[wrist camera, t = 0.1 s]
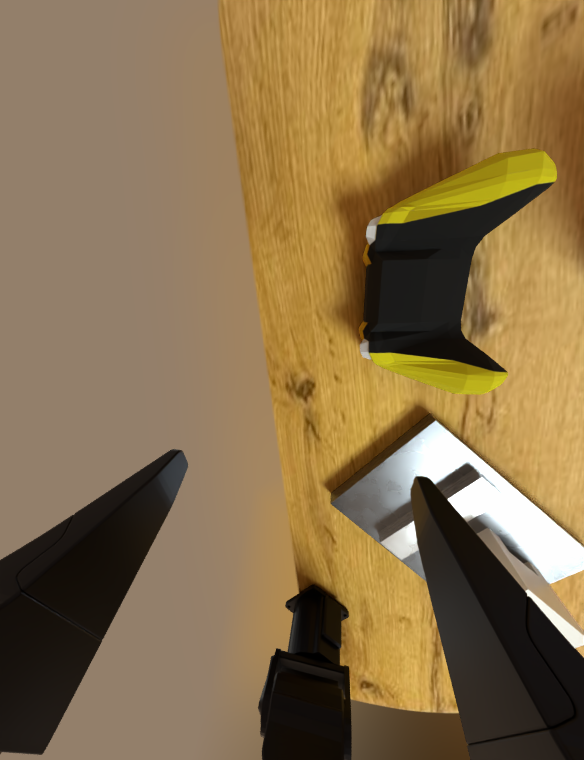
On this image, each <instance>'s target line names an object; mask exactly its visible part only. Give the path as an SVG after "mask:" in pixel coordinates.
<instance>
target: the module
mask: <svg viewBox="0 0 584 760" xmlns="http://www.w3.org/2000/svg"><path fill="white" fill-rule="evenodd" d="M477 535H478V536H479V537H480V538H481V539H482V541H483V542H484V543H485V544H486V545H487V546H488V548H489V549H490V550H491V551H492V552H493V554H494V555H495V556H496V557H497V558H498V559H499V561H500V562H501V563H502V564H503V565H504V567H505V568H506V569H507V570H508V571H509V572H510V574H511V575H512V576H513V577H514V578H515V580H516V581H517V582H518V583H519V584H520V586H521V587H522V588H523V589H524V590H525V591H526V593H527V596H529V597H531V598H532V600H533V601H534V602H535V603H536V604H537V605H538V607H539V608H540V609H541V610H542V611H543V613H544V614H545V615H546V616H547V617H548V618H549V619H550V621H551V622H552V623H553V624H554V625H555V626H556V627H557V629H558V630H559V631H560V632H561V633H562V634H563V635H564V637H565V638H566V639H567V640H568V641H569V642H570V643H571V644H572V646H573V647H574V648H577V647H580V646H583V645H584V631H583V630H582V628H581V627H580V626H579V624H578V623H577V621H576V620H575V619H574V617H573V616H572V615H571V613H570V612H569V611H568V609H567V608H566V607H565V605H564V604H563V602H562V601H561V600H560V598H559V597H558V596H557V594H556V593H555V592H554V590H553V589H552V588H551V586H550V585H549V583H548V582H547V581H546V579H545V578H544V577H543V575H542V574H541V573H540V571H539V570H538V569H537V568H535V567H534V566H533V565H532V564H531V563H529V562H526V563H524V564H523V563H522V562H521V561H520V560H518V559H517V558H516V557H515V556H514V555H512V554H511V553H510V552H509V551H508V549H507V548H506V546H505V545H504V544H503V542H502V541H501V539H500V538H499V536H497V535H496V534H495V533H494V532H493V531H491V530H490V529H489V528H486V529H484V530H483V531H481V532H479V533H477Z"/></svg>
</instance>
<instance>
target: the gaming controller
mask: <svg viewBox="0 0 584 760" xmlns="http://www.w3.org/2000/svg"><path fill="white" fill-rule="evenodd" d="M556 179H557V170H556V166H555V163H554V162H553V161H552V159H551V158H550V157H549V156H548V155H547V154H546V153H545V151H542V150H538V149H534V148H533V149H526V150H519V151H511V152H504V153H498V154H496V155H494V156H492V157H489V158H487V159H485V160H483V161H481V162H479V163H477V164H475V165H473V166H471V167H469V168H467V169H465V170H463V171H461V172H459V173H457V174H455V175H453V176H451V177H449V178H447V179H445V180H442V181H440V182H438V183H436V184H434V185H432V186H430V187H428V188H426V189H424V190H422V191H420V192H418V193H416V194H415V195H413V196H411V197H409V198H407V199H405V200H403V201H401V202H399V203H397V204H396V205H394V206H393V207H391V208H388V209H387V210H386V211H385V212H384V213H383V214H382V215H381V216H379V217H376V218H374V219H372V220H371V221H370V223H369V225H368V226H367V232H366V238H367V240H368V243H367V245H366V248H365V250H364V254H363V257H362V260H363V262H364V264H365V266H366V284H365V302H364V319H363V322H362V324H361V325H360V327H359V328H358V329H359V334H360V337H361V340H362V342H361V344H360V352H361V354H362V356H363V357H364V358H368V359H371V360H372V361H373V362H374V363H375V364H376V365H379V366H380V367H382V368H384V369H387V370H390V371H392V372H395V373H398V374H400V375H403V376H406V377H408V378H411V379H414V380H417V381H419V382H422V383H425V384H428V385H431V386H434V387H436V388H439V389H442V390H445V391H448V392H451V393H453V394H479V395H480V394H484V393H487V392H490V391H491V390H493V389H495V388H496V387H498V386H499V385H501V384H502V383H503V382H504V380H505V379H506V378H507V376H508V372H507V371H506V370H505V369H504V368H502V367H501V366H500V365H499V364H498V363H496V362H495V361H494V360H493V359H491V358H490V357H489V356H488V355H486V354H485V353H484V352H483V351H481V350H480V349H479V348H477V347H476V346H475V345H473V344H472V343H471V342H469V341H468V340H467V339H465V337H464V335H463V333H462V331H461V317H462V311H463V305H464V300H465V294H466V288H467V282H468V277H469V271H470V265H471V260H472V257H473V254H474V251H475V248H476V246H477V245H478V244H479V242H480V241H481V240H482V239H483V237H484V236H485V235H487V234H488V233H489V232H491V231H492V230H493V229H495V228H496V227H497V226H499V225H500V224H501V223H503V222H504V221H505V220H507V219H508V218H510V217H511V216H512V215H514V214H515V213H516V212H518V211H519V210H520V209H521V208H523V207H524V206H525V205H527V204H528V203H529V202H531V201H532V200H533V199H535V198H536V197H537V196H539V195H540V194H541V193H542V192H544V191H545V190H546V189H548V188H549V187H550V186H551V185H552V184H553V183H554V182H555V180H556Z"/></svg>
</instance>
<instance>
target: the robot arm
mask: <svg viewBox="0 0 584 760" xmlns="http://www.w3.org/2000/svg"><path fill="white" fill-rule="evenodd" d="M187 468H188V463H187V460H186V457H185V455H184V453H183V451H182V450H176V449H173V450H170V451H169V452H167V453H165V454H164V455H162V456H161V457H159V458H158V459H156V460H155V461H153V462H152V463H150V464H149V465H147V466H146V467H144V468H143V469H141V470H140V471H139V472H137V473H135V474H134V475H132V476H131V477H129V478H128V479H126V480H125V481H123V482H122V483H120V484H119V485H117V486H116V487H114V488H113V489H111V490H110V491H108V492H107V493H105V494H104V495H102V496H101V497H99V498H98V499H96V500H94V501H93V502H91V503H90V504H88V505H87V506H86V507H84V508H82V509H81V510H79V511H78V512H76V513H75V514H74V515H72V516H70V517H69V518H67V519H66V520H64V521H63V522H61V523H60V524H58V525H56V526H55V527H53V528H52V529H50V530H49V531H47V532H46V533H44V534H42V535H41V536H40V537H38V538H36V539H34V540H33V541H31V542H29V543H28V544H26V545H24V546H23V547H21V548H20V549H18V550H16V551H15V552H13V553H12V554H9V555H8V556H6V557H4V558H3V559H1V560H0V754H1V752H9V753H23V754H38V755H42V754H43V752H44V751H45V749H46V747H47V746H48V744H49V742H50V740H51V738H52V736H53V734H54V732H55V731H56V729H57V727H58V725H59V723H60V721H61V719H62V717H63V715H64V713H65V711H66V710H67V708H68V706H69V704H70V702H71V700H72V698H73V696H74V694H75V692H76V690H77V688H78V686H79V685H80V683H81V681H82V679H83V677H84V675H85V673H86V671H87V669H88V667H89V665H90V663H91V661H92V659H93V658H94V656H95V654H96V652H97V650H98V648H99V646H100V644H101V642H102V639H103V638H104V636H105V634H106V632H107V630H108V628H109V626H110V624H111V623H112V621H113V619H114V617H115V615H116V613H117V611H118V609H119V607H120V605H121V603H122V601H123V599H124V598H125V596H126V594H127V591H128V590H129V588H130V586H131V584H132V582H133V580H134V578H135V576H136V574H137V572H138V570H139V569H140V567H141V565H142V563H143V561H144V559H145V557H146V555H147V553H148V551H149V549H150V547H151V545H152V543H153V542H154V540H155V538H156V536H157V534H158V532H159V530H160V528H161V526H162V524H163V522H164V520H165V519H166V517H167V515H168V512H169V511H170V509H171V507H172V504H173V502H174V500H175V498H176V495H177V493H178V490H179V488H180V485H181V483H182V481H183V478H184V476H185V473H186V471H187ZM410 496H411V504H412V511H413V518H414V525H415V533H416V539H417V545H418V549H419V554H420V558H421V562H422V566H423V570H424V574H425V578H426V582H427V586H428V590H429V594H430V598H431V602H432V606H433V610H434V614H435V618H436V622H437V626H438V630H439V634H440V638H441V642H442V646H443V650H444V654H445V658H446V662H447V666H448V670H449V674H450V678H451V682H452V686H453V690H454V695H455V699H456V703H457V707H458V711H459V715H460V718H461V723H462V727H463V731H464V734H465V739H466V742H467V744H468V745H467V747H468V752H469V756H470V760H584V658H583V656H582V655H581V654H580V653H579V652H578V651H577V650H576V649H575V648H574V647H573V646H572V644H571V643H570V642H569V641H568V640H567V639H566V638H565V637H564V635H563V634H562V633H561V632H560V631H559V630H558V629H557V627H556V626H555V625H554V624H553V623H552V622H551V621H550V619H549V618H548V617H547V616H546V615H545V614H544V613H543V611H542V610H541V609H540V608H539V607H538V605H537V604H536V603H535V602H534V601H533V600H532V598H531V597H529V596H527V593H526V591H525V590H524V589H523V588H522V587H521V586H520V584H519V583H518V582H517V581H516V580H515V578H514V577H513V576H512V575H511V574H510V572H509V571H508V570H507V569H506V568H505V567H504V565H503V564H502V563H501V562H500V561H499V559H498V558H497V557H496V556H495V555H494V554H493V552H492V551H491V550H490V549H489V548H488V546H487V545H486V544H485V543H484V542H483V541H482V539H481V538H480V537H479V536H478V535H477V533H476V532H475V531H474V530H473V529H472V528H471V526H470V525H469V524H468V523H467V522H466V520H465V519H464V518H463V517H462V516H461V515H460V513H459V512H458V511H457V510H456V509H455V507H454V506H453V505H452V504H451V503H450V502H449V500H448V499H447V498H446V497H445V496H444V494H443V493H442V492H441V491H440V490H439V489H438V487H437V486H436V485H435V484H434V483H433V481H432V480H431V479H430V478H428V477H424V476H416V477H415V478H414V481H413V484H412V487H411V492H410ZM285 606H286V608H287V609H289V610H290V611H291V612H293V620H292V627H291V633H290V640H289V646H288V652H285V651H281V649H276V652H275V655H274V656H272V657H271V661H270V666H269V671H268V676H267V679H266V682H265V686H264V688H263V691H262V695H261V698H260V701H259V706H258V709H259V712H260V715H261V731H260V734H261V737H264V741H263V747H262V760H351V705H350V704H351V702H350V679H349V666H345V665H344V666H341V665H340V648H341V621H342V620H344V619H346V618H348V617H349V612H348V611H347V610H346V609H345V608H344V607H342V606H341V605H340V604H339V603H337V602H336V601H335V600H333V599H332V598H331V597H330V596H328V595H327V594H326V593H325V592H323V591H322V590H321V589H319V588H318V587H317V586H315V585H312V586H310V587H308V588H307V589H305V590H304V591H302V592H301V593H299V594H297V595H296V596H294V597H293V598H291V599H290V600H288V601H287V602H286V605H285Z"/></svg>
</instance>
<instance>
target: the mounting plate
mask: <svg viewBox="0 0 584 760" xmlns="http://www.w3.org/2000/svg"><path fill="white" fill-rule="evenodd" d="M416 476H424V477H428V478H430V479H431V480H432V481H433V483H434V484H435V485H436V486H437V487H438V489H439V490H440V491H441V492H442V493H443V494H444V496H445V497H446V498H447V499H448V500H449V502H450V503H451V504H452V505H453V506H454V507H455V509H456V510H457V511H458V512H459V513H460V515H461V516H462V517H463V518H464V519H465V520H466V522H467V523H468V524H469V525H470V526H471V528H472V529H473V530H474V531H475V532H476V533H479V532H481V531H483V530H484V529H486V528H489V529H490V530H491V531H493V532H494V533H495V534H496V535H497V536H499V538H500V539H501V541H502V542H503V544H504V545H505V546H506V548H507V549H508V551H509V552H510V553H511V554H512V555H514V556H515V557H516V558H517V559H518V560H520V561H521V562H522V563H523V564H524V563H526V562H529V563H531V564H532V565H533V566H534V567H535V568H537V569H538V570H539V571H540V573H541V574H542V575H543V577H544V578H545V579H546V581H547V582H548V583H549V584H551V583H553V582H555V581H558V580H560V579H563V578H565V577H567V576H570V575H572V574H575V573H577V572H579V571H582V570H584V545H582V544H581V543H580V542H579V541H578V540H577V539H575V538H574V537H573V536H572V535H571V534H570V533H568V532H567V531H566V530H565V529H564V528H563V527H561V526H560V525H559V524H558V523H557V522H556V521H554V520H553V519H552V518H551V517H550V516H549V515H548V514H546V513H545V512H544V511H543V510H542V509H541V508H539V507H538V506H537V505H536V504H535V503H534V502H532V501H531V500H530V499H529V498H528V497H527V496H525V495H524V494H523V493H522V492H521V491H520V490H518V489H517V488H516V487H515V486H514V485H513V484H512V483H510V482H509V481H508V480H507V479H506V478H505V477H503V476H502V475H501V474H500V473H499V472H498V471H496V470H495V469H494V468H493V467H492V466H491V465H489V464H488V463H487V462H486V461H485V460H484V459H482V458H481V457H480V456H479V455H478V454H477V453H476V452H474V451H473V450H472V449H471V448H470V447H469V446H467V445H466V444H465V443H464V442H463V441H462V440H460V439H459V438H458V437H457V436H456V435H455V434H453V433H452V432H451V431H450V430H449V429H448V428H446V427H445V426H444V425H443V424H442V423H441V422H439V421H438V420H437V419H436V418H435V417H434V416H433V415H431V414H429V415H427V416H426V417H425V418H424V419H422V420H421V421H420V422H419V423H417V424H416V425H415V426H414V427H413V428H411V429H410V430H409V431H408V432H406V433H405V434H404V435H403V436H401V437H400V438H399V439H398V440H396V441H395V442H394V443H393V444H392V445H390V446H389V447H388V448H387V449H385V450H384V451H383V452H382V453H380V454H379V455H378V456H377V457H375V458H374V459H373V460H372V461H371V462H369V463H368V464H367V465H366V466H364V467H363V468H362V469H361V470H359V471H358V472H357V473H356V474H354V475H353V476H352V477H351V478H350V479H348V480H347V481H346V482H345V483H343V484H342V485H341V486H340V487H338V488H337V489H336V490H335V491H333V492H332V493H331V504H332V505H333V506H334V507H335V508H337V509H338V510H339V511H340V512H342V513H343V514H344V515H345V516H346V517H348V518H349V519H350V520H351V521H353V522H354V523H355V524H356V525H358V526H359V527H360V528H361V529H362V530H364V531H365V532H366V533H367V534H369V535H370V536H371V537H372V538H374V539H375V540H376V541H377V542H378V543H380V544H381V545H382V546H383V547H385V548H386V549H387V550H388V551H390V552H391V553H392V554H393V555H394V556H396V557H397V558H398V559H399V560H401V561H402V562H403V563H404V564H406V565H407V566H408V567H409V568H410V569H412V570H413V571H414V572H415V573H417V574H418V575H419V576H420V577H422V578H423V579H424V580H425V581H426V578H425V574H424V570H423V566H422V562H421V558H420V554H419V549H418V545H417V539H416V533H415V525H414V518H413V511H412V504H411V496H410V492H411V487H412V484H413V481H414V478H415V477H416Z"/></svg>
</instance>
